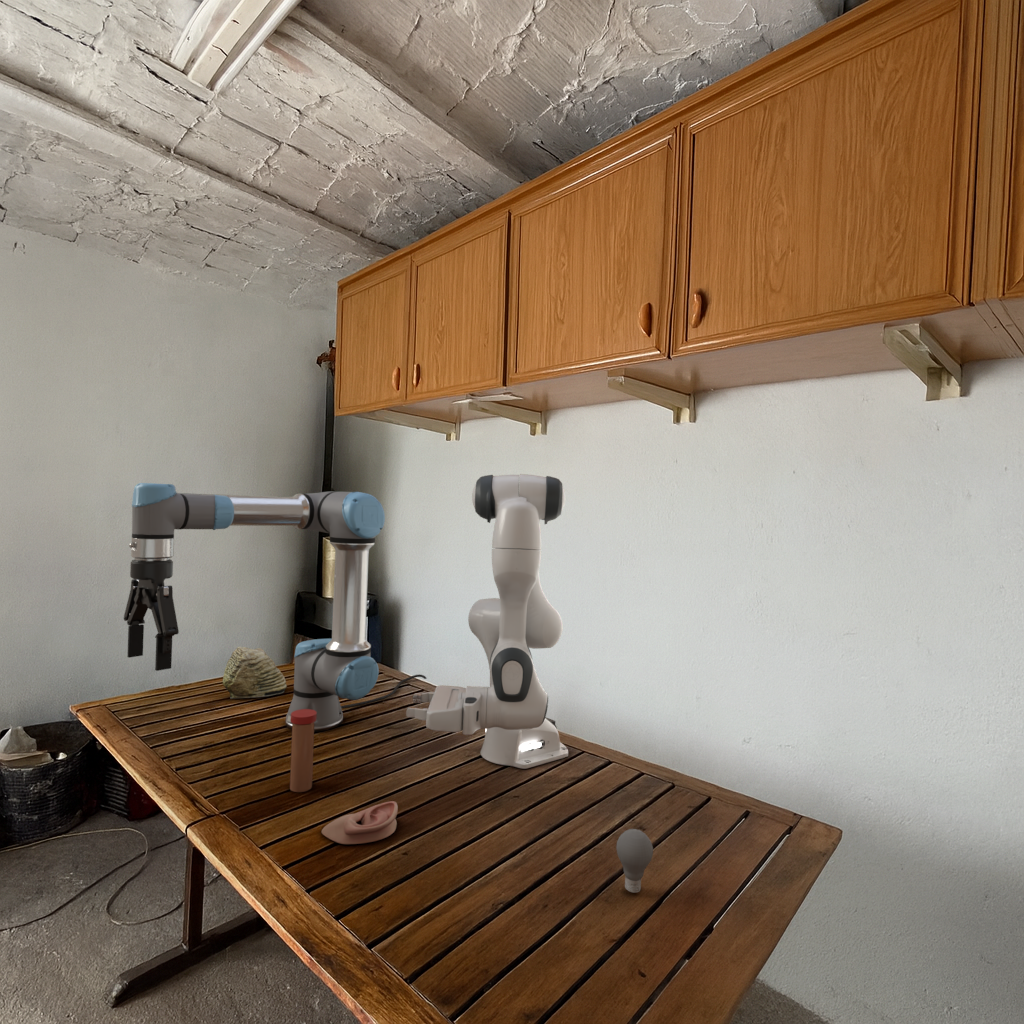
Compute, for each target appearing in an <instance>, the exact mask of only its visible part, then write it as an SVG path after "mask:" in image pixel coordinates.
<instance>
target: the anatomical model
mask: <svg viewBox="0 0 1024 1024" xmlns="http://www.w3.org/2000/svg"><path fill="white" fill-rule="evenodd" d="M398 809H399V806H398V803H397V802H396V801H393V800H392V801H391V800H390V801H385V802H381V803H378V804H376V805H372V806H370V807H368V808H365V809H363V810H360V811H358V812H355V813H350V814H344V815H342V816H340V817H338V818H336V819H334V820H332V821H331V822H329V823H327V824H326V825H325V826H323V828H322V829H321V834H322V835H323V836H324V837H325V838H327V839H328V840H331V841H333V842H335V843H337V844H341V845H357V844H358V845H359V844H367V843H372V842H377V841H380V840H384V839H385V838H388V837H389V836H391V835H392V834H393V833H395V831H396V829H397V826H398V823H397V820H396V819H397V815H398V812H399V811H398Z"/></svg>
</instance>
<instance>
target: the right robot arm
mask: <svg viewBox="0 0 1024 1024" xmlns="http://www.w3.org/2000/svg"><path fill="white" fill-rule="evenodd" d="M471 499H472V500H471V501H472V505H473V508H474V510H475V513H476V514H477V515H478V516H479V517H480V518H482V519H484V520H486V521H487V523H489V524H490V523H491V521H492V520H493V519H495V521H494V525H493V531H492V540H491V542H492V543H491V567H492V574H493V580H494V583H495V586H496V589H497V592H498V596H499V597H498V598H497V597H491V598H490V597H489V598H482V599H478V600H476V601H475V602H474V604H473V605H472V606H471V607H470V610H469V613H468V618H467V620H468V622H467V623H468V627H469V629H470V631H471V633H473V635H474V636H475V637H476V639H477V640H478V641H479V642H480V644H481V646H482V648H483V650H484V653H485V656H486V659H487V662H488V669H489V686H478V685H477V686H476V685H475V686H474V685H466V687H464V686H458V685H449V684H447V685H446V684H441V685H436V687H435V689H434V691H428V692H422V693H414V694H413V696H412V703H413V704H421V703H429V705H428V708H427V707H423V708H418V707H416V706H408V707H407V708H406V710H405V711H406V712H405V716H406V717H407V718H415V719H417V720H420V721H425V728H426V729H429V730H430V731H435V732H445V733H459V732H462V735H464V736H472V735H474V734H475V732H477V731H479V730H485V735H484V740H483V742H482V746H481V749H480V751H479V752H480V756H481V757H482V758H483V759H484V760H486V761H488V762H490V763H493V764H495V765H496V764H497V765H501V766H508V767H509V766H510V767H515V768H518V769H522V770H526V769H530V768H534V767H537V766H541V765H544V764H547V763H551V762H554V761H557V760H561V759H564V758H567V757H569V749H568V747H566V745H565V744H563V742H561V740H560V734H559V730H558V726H557V725H556V720H555V719H551V718H548V717H547V713H548V708H549V695H548V693H547V692H546V690H545V688H544V687H543V685H542V683H541V682H540V679H539V676H538V674H537V670H536V667H535V664H534V661H533V660H534V659H533V655H532V652H531V650H530V649H535V650H537V649H539V650H541V649H551V648H553V647H554V646H556V644H557V643H558V642H559V641H560V639H561V637H562V634H563V628H564V625H563V619H562V616H561V614H560V613H559V611H558V610H557V609H556V608H555V607H553V605H552V604H551V603H550V601H549V600H548V598H547V596H546V594H545V592H544V590H543V587H542V583H541V579H540V567H541V560H542V559H541V558H542V531H541V521H543V524H544V525H548V522H551V521H554V520H556V519H558V517H560V516H562V512H563V510H564V508H565V505H566V499H567V497H566V490H565V488H564V485H563V483H562V480H560V478H557V477H554V476H550V475H546V476H541V475H535V474H525V473H520V474H501V475H493V474H488V475H482V476H480V477H479V478H478V479H477V480H476V482H475V484H474V487H473V489H472V493H471Z"/></svg>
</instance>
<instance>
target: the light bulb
mask: <svg viewBox="0 0 1024 1024" xmlns="http://www.w3.org/2000/svg"><path fill="white" fill-rule="evenodd" d="M615 849H616V854H617V857H618V859H619V861H620V863H621V865H622V867H623V873H624V874H623V875H624V876H625V878H624V888H625V890H627V891H628V892H630V893H634V894H635V893H639V892H640V891H641V889H642V887H641V886H642V879H643V877H644V875H645V871H646V868H647V867H648V866H649V864H650V863H651V861H652V859H653V855H654V847H653V843H652V841H651V838H649V836H648V835H647V834H646V833H645V832H643V831H642V830H641V829H636V828H629V829H627V830H625V831H623V832H622V833H621V834H620V835H619V837H618V839H617V841H616V847H615Z"/></svg>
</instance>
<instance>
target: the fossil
mask: <svg viewBox="0 0 1024 1024" xmlns="http://www.w3.org/2000/svg"><path fill="white" fill-rule="evenodd" d="M222 676H223V677H222V685H223V687H224V688H225V690H226V691H228V693H229V698H230V699H250V698H264V697H271V696H275V695H281V694H284V693H285V691H286V689H287V687H288V686H287V680H286V678H285V676H284V674H283V673H282V672H281V669H279V668H278V667H277V665H276V663H275V662H274V660H273V659H272V658H271V657H270V656H269V655H268V654H267V653H266V652H265V650H264V649H263V648H260V647H258V648H251V647H247V646H246V647H245V646H238V647H237V648H236V649H235V650H233V651H232V653H231V656H230V657H229V659H228V660H227V663H226V666H225V668H224V671H223V675H222Z"/></svg>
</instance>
